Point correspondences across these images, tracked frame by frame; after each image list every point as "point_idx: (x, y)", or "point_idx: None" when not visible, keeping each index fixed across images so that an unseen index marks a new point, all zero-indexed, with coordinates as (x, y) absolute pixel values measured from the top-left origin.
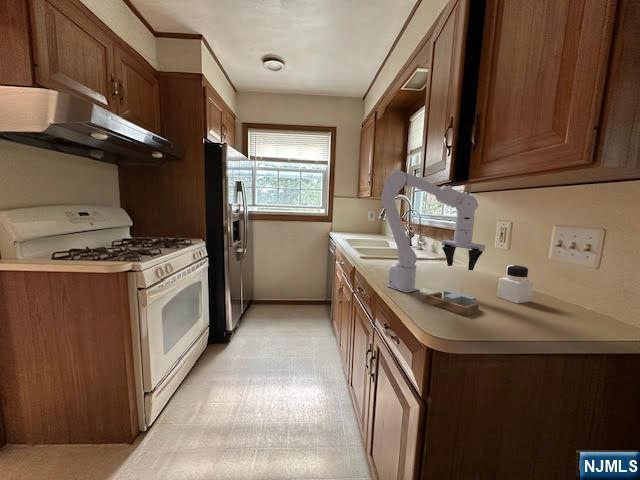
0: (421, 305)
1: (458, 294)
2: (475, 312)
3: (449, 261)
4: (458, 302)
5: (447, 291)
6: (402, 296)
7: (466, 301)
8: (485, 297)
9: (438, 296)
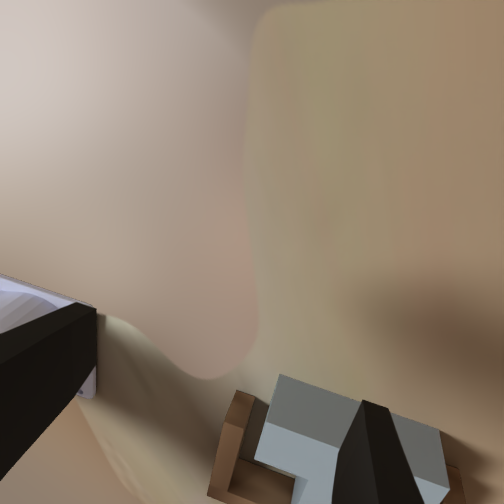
0: None
1: None
2: None
3: (53, 411)
4: None
5: (271, 459)
6: (117, 439)
7: None
8: (498, 139)
9: (242, 438)
